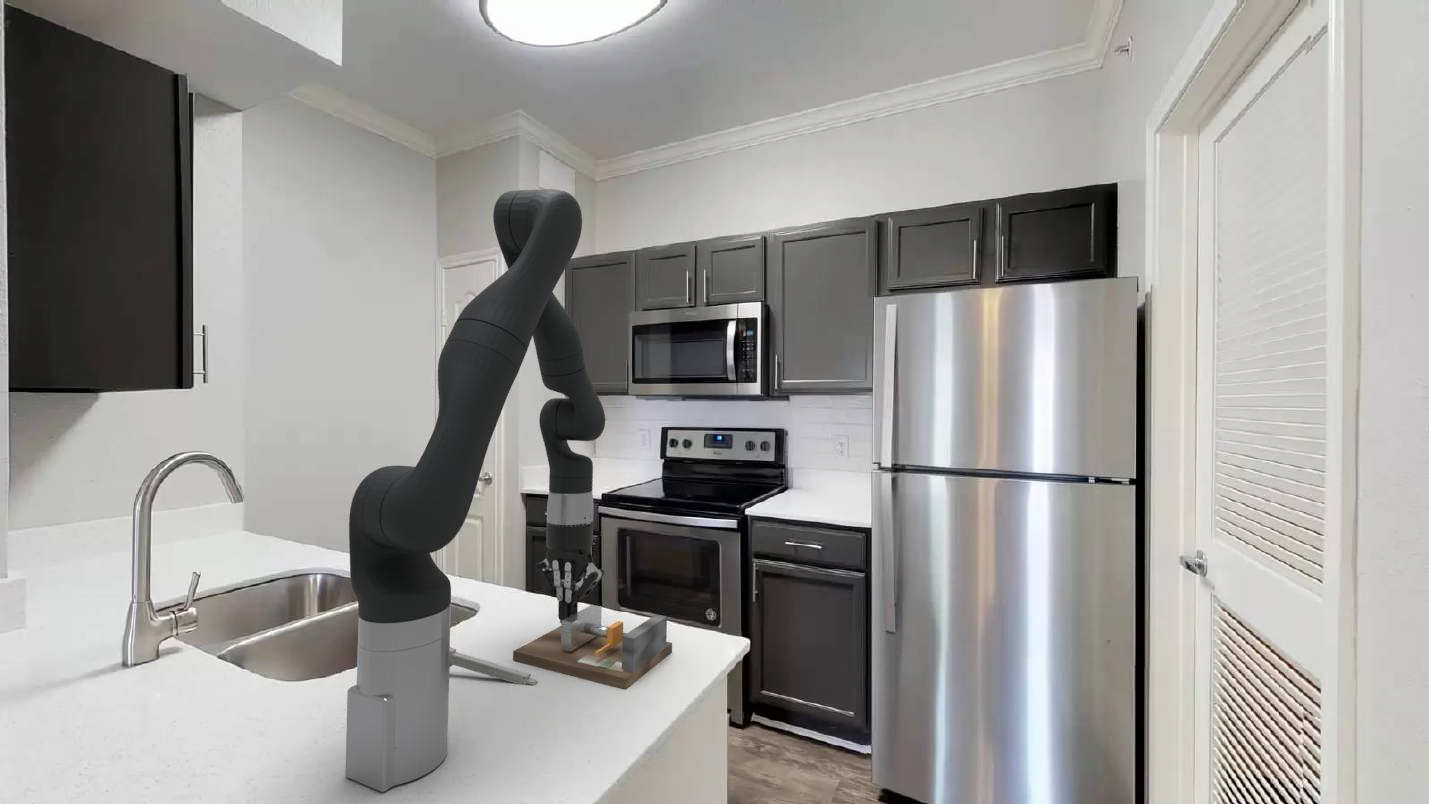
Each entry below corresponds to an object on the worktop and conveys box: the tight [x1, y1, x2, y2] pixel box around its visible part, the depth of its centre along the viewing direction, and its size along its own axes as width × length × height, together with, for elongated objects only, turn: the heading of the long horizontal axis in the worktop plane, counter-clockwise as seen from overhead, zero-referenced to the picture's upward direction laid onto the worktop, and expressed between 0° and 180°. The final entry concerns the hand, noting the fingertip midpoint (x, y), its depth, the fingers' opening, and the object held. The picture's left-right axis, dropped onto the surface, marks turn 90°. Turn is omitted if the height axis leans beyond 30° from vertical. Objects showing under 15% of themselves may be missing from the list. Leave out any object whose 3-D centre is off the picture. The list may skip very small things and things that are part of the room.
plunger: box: [560, 604, 608, 651], centre depth 93 cm, size 8×7×4 cm
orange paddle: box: [595, 620, 624, 656], centre depth 89 cm, size 6×1×3 cm, turn 156°
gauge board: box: [512, 614, 673, 690], centre depth 92 cm, size 14×21×6 cm, turn 66°
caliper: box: [449, 646, 539, 686], centre depth 85 cm, size 20×1×6 cm, turn 81°
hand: (567, 622), depth 95 cm, fingers closed
